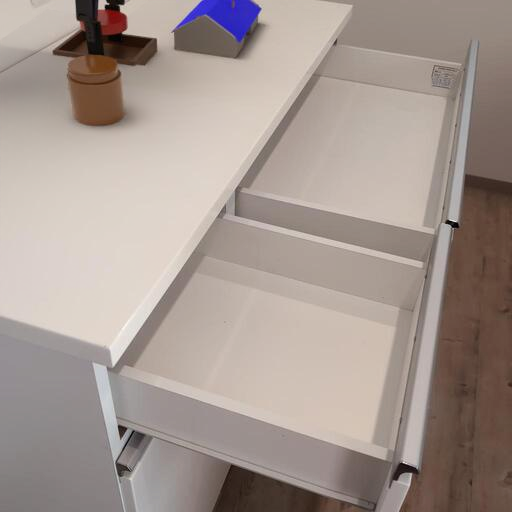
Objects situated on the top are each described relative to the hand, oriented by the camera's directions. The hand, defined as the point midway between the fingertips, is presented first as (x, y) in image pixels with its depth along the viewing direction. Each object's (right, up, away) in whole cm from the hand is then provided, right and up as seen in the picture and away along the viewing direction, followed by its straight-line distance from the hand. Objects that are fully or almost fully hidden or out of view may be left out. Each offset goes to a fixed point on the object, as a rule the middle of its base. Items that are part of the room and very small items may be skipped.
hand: (106, 49), depth 102 cm
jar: (+4, -19, -19) cm, 27 cm away
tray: (0, -1, +1) cm, 2 cm away
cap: (0, +4, -4) cm, 5 cm away
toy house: (+20, +8, +14) cm, 26 cm away
